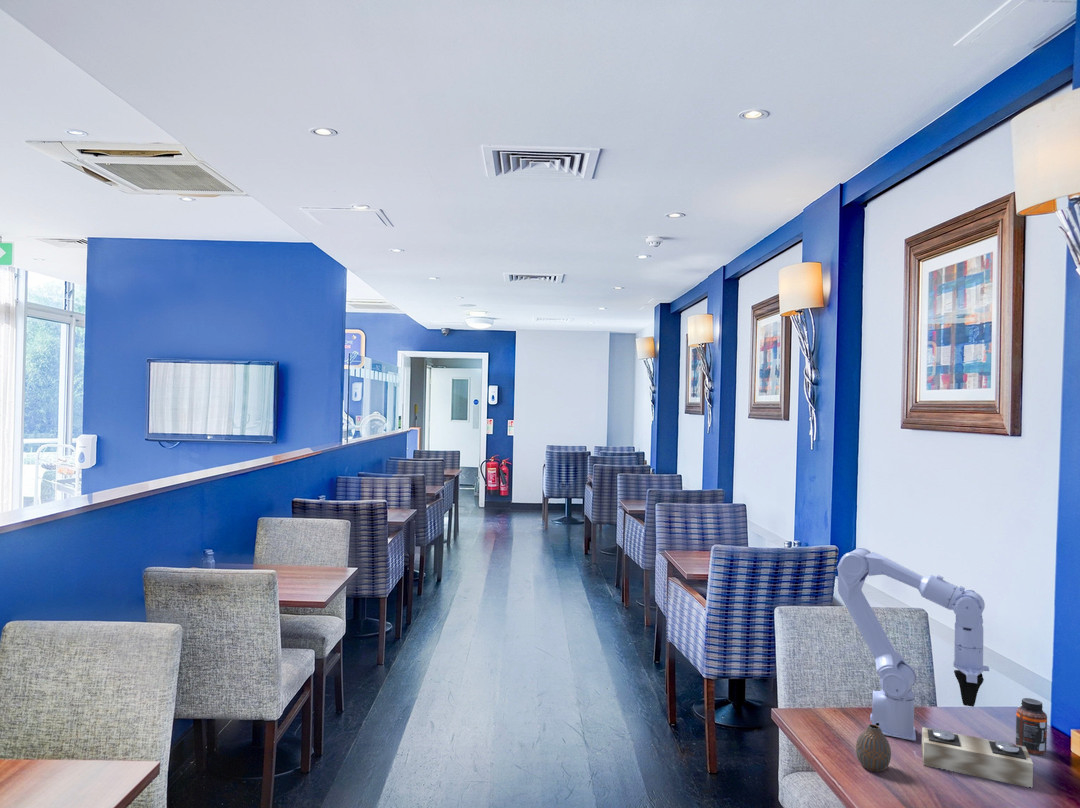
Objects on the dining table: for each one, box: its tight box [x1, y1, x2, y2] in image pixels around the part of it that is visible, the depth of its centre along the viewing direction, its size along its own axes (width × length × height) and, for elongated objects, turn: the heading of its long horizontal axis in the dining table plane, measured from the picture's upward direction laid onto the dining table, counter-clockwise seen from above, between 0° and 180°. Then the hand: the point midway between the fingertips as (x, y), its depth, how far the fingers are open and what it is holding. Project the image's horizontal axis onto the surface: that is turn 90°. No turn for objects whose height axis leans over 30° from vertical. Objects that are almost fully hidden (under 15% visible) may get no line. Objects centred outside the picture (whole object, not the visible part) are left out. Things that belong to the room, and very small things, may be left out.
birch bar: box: [921, 726, 1034, 789], centre depth 161 cm, size 20×9×5 cm, turn 65°
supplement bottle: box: [1015, 697, 1048, 756], centre depth 171 cm, size 6×6×11 cm
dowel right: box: [996, 740, 1019, 754], centre depth 158 cm, size 4×4×5 cm
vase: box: [855, 723, 892, 772], centre depth 159 cm, size 7×7×9 cm
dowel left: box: [933, 729, 955, 741], centre depth 163 cm, size 4×4×5 cm
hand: (968, 705), depth 169 cm, fingers closed
